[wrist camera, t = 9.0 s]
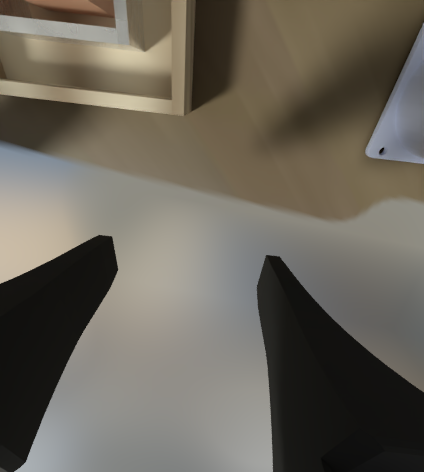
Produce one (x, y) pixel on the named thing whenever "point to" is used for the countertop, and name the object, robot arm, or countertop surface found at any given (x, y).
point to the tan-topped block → (78, 6)
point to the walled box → (107, 63)
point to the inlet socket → (77, 26)
